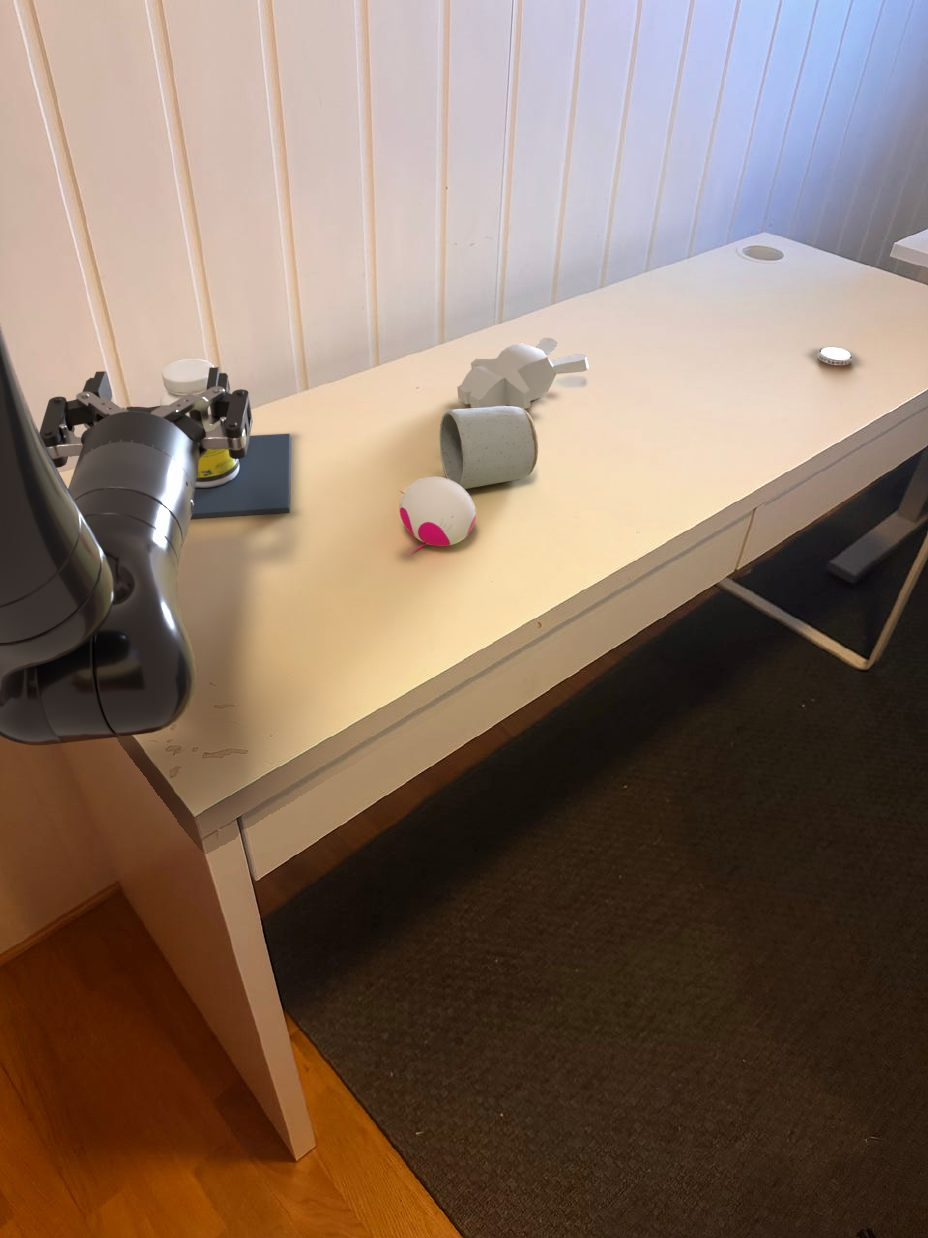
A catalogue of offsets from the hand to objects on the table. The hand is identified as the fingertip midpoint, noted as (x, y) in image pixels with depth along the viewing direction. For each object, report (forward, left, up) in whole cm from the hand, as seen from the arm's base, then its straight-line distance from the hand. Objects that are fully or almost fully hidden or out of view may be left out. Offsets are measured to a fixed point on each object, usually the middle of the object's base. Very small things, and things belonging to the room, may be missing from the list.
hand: (160, 380), depth 70 cm
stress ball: (+21, -2, -16) cm, 27 cm away
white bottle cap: (+75, +30, -16) cm, 83 cm away
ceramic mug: (+27, +9, -16) cm, 33 cm away
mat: (+1, +11, -16) cm, 19 cm away
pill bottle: (0, +11, -16) cm, 19 cm away
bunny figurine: (+34, +25, -16) cm, 45 cm away
